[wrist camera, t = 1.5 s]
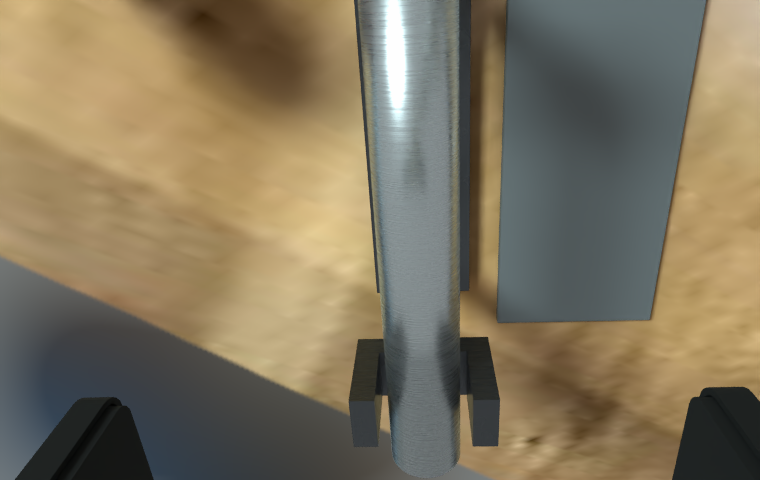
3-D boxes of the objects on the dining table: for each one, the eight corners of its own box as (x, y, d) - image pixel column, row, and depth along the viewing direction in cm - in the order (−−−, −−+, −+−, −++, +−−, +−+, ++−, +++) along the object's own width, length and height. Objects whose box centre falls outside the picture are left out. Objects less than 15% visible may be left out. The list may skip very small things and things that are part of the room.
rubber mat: (745, -257, 25) (752, -262, 24) (646, 314, 38) (649, 319, 37) (514, -234, 25) (516, -238, 25) (496, 317, 38) (497, 322, 38)
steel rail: (346, -221, 16) (331, -260, 13) (454, -232, 15) (463, -274, 13) (393, 425, 26) (390, 478, 23) (457, 424, 26) (462, 478, 23)
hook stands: (469, -150, 27) (530, -281, 12) (467, 281, 37) (499, 478, 23) (345, -139, 27) (267, -253, 13) (378, 283, 38) (355, 478, 24)
